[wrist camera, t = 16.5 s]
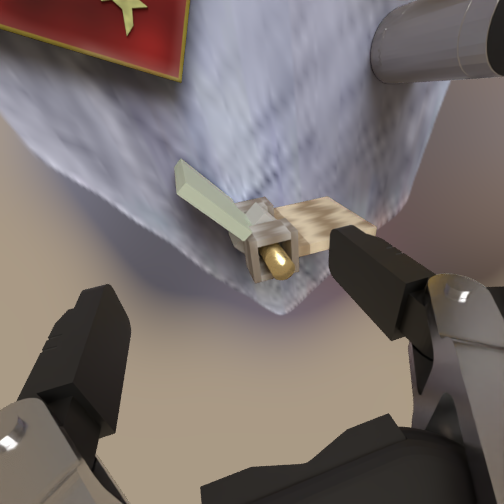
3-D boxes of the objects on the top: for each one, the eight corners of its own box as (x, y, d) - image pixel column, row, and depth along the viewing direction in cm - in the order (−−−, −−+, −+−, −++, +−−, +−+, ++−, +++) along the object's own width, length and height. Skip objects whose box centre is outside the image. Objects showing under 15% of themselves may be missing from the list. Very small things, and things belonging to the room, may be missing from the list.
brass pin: (256, 208, 46) (294, 257, 32) (257, 223, 48) (295, 276, 34) (239, 212, 46) (271, 263, 32) (241, 227, 47) (273, 282, 33)
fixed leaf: (327, 183, 47) (379, 211, 36) (326, 216, 51) (373, 251, 39) (228, 204, 44) (249, 242, 33) (233, 238, 48) (254, 283, 36)
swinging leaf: (274, 215, 47) (306, 250, 36) (250, 242, 49) (274, 283, 38) (191, 144, 38) (200, 163, 27) (164, 180, 39) (162, 211, 28)
